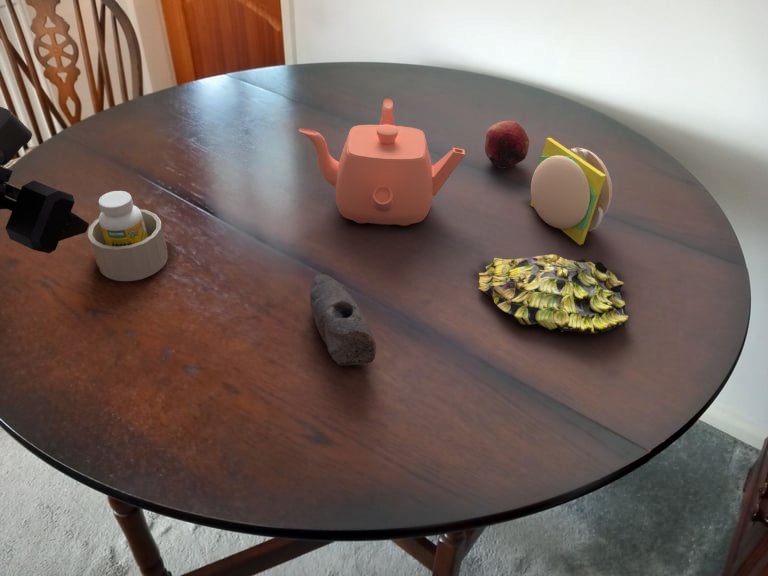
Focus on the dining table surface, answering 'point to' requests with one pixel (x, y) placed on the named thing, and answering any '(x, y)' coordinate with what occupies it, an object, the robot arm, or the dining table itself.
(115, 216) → the supplement bottle
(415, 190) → the teapot
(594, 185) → the hamburger
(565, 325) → the scaly yellow mound
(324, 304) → the perforated stone tool
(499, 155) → the fruit
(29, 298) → the dining table surface
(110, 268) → the beige cup
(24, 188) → the robot arm
